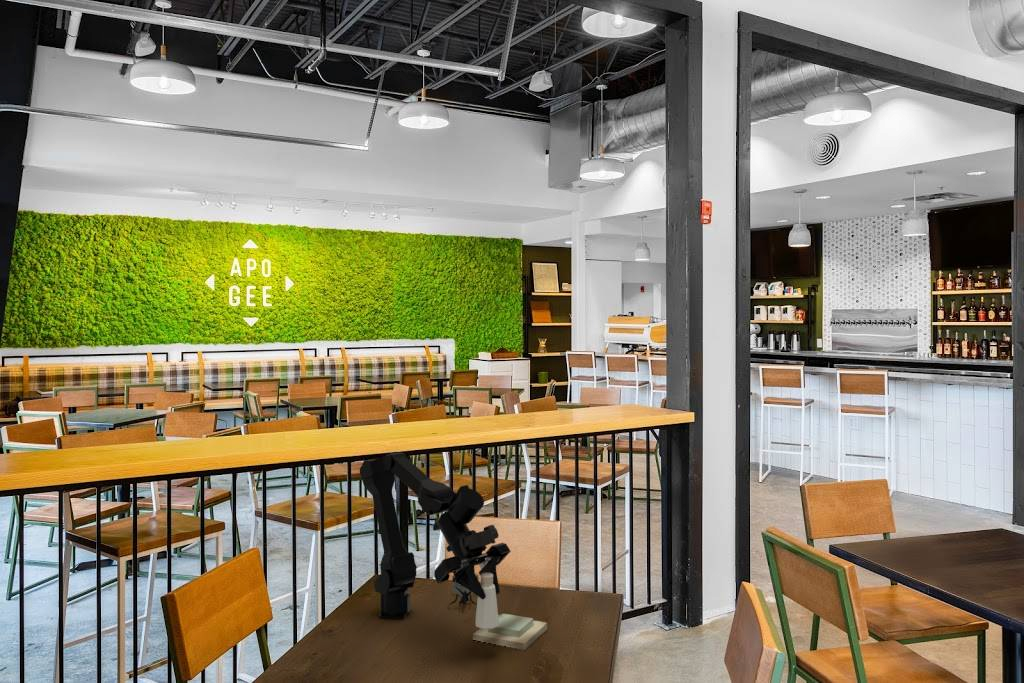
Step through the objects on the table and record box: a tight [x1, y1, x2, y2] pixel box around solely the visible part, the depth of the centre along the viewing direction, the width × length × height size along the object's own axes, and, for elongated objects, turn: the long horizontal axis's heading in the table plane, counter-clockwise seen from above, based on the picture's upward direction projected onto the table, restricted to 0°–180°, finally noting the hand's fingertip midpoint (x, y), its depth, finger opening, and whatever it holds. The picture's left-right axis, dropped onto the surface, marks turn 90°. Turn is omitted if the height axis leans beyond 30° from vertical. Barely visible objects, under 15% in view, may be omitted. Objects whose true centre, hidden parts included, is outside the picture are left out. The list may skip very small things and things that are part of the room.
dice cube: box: [451, 573, 479, 595], centre depth 203 cm, size 5×5×5 cm
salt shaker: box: [474, 573, 499, 629], centre depth 164 cm, size 5×5×11 cm
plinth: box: [472, 613, 548, 651], centre depth 174 cm, size 13×13×3 cm
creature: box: [447, 586, 477, 612], centre depth 192 cm, size 8×5×8 cm
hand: (491, 595), depth 163 cm, fingers closed on salt shaker, 4 cm apart
